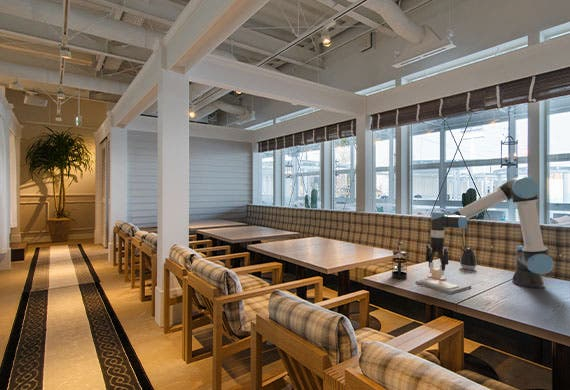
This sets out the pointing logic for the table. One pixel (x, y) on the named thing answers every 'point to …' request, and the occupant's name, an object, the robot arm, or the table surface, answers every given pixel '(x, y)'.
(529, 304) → the table surface
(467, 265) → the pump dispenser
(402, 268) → the french press
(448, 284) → the board
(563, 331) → the table surface
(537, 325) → the table surface
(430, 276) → the stub
